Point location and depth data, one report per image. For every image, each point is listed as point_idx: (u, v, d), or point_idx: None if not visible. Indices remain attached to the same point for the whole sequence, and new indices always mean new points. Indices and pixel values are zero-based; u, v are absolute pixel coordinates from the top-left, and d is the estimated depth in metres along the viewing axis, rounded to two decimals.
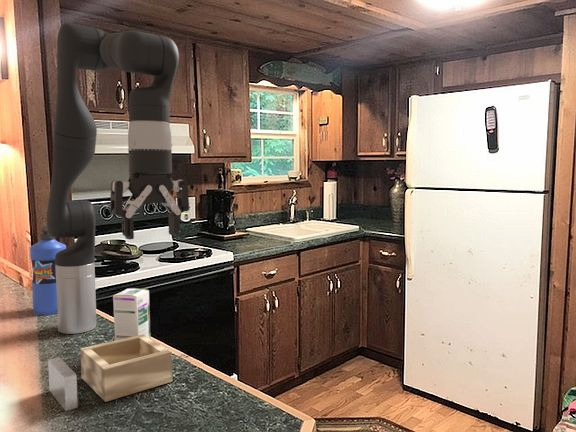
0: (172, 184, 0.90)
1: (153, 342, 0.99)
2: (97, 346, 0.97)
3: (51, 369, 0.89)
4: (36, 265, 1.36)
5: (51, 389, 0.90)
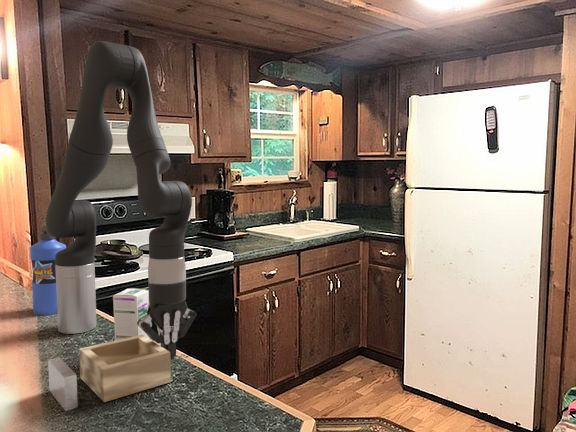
0: (185, 309, 1.02)
1: (152, 342, 0.99)
2: (96, 346, 0.97)
3: (51, 369, 0.89)
4: (36, 265, 1.36)
5: (51, 389, 0.90)
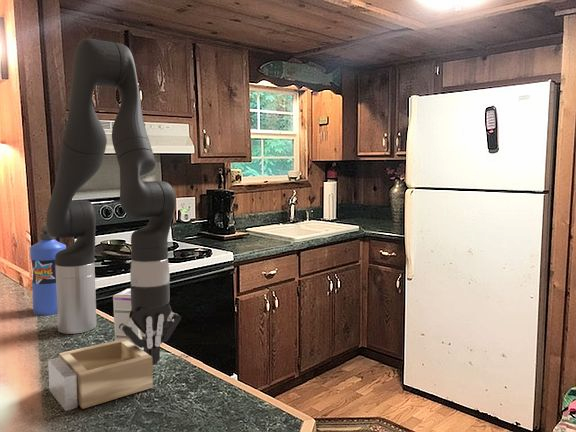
0: (169, 313, 0.99)
1: (134, 346, 0.97)
2: (76, 351, 0.94)
3: (51, 369, 0.89)
4: (36, 265, 1.36)
5: (51, 389, 0.90)
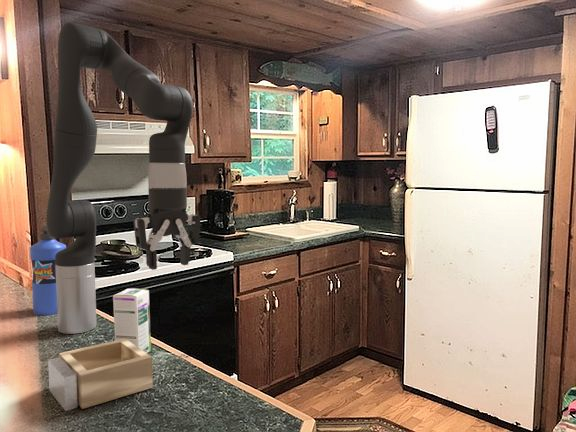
0: (187, 218, 1.00)
1: (134, 347, 0.97)
2: (76, 351, 0.94)
3: (51, 369, 0.89)
4: (36, 265, 1.36)
5: (51, 389, 0.90)
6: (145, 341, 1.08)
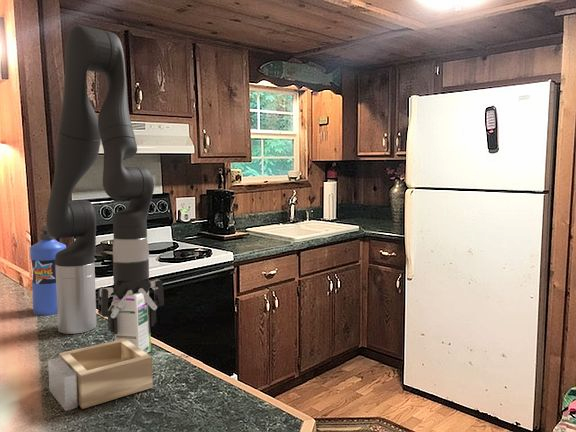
0: (149, 285, 1.09)
1: (134, 347, 0.97)
2: (76, 351, 0.94)
3: (51, 369, 0.89)
4: (36, 265, 1.36)
5: (51, 389, 0.90)
6: (145, 341, 1.08)
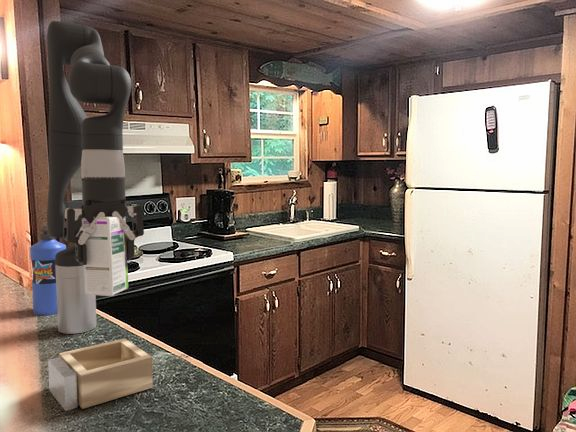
0: (126, 210, 0.92)
1: (134, 347, 0.97)
2: (76, 351, 0.94)
3: (51, 369, 0.89)
4: (36, 265, 1.36)
5: (51, 389, 0.90)
6: (121, 275, 0.91)
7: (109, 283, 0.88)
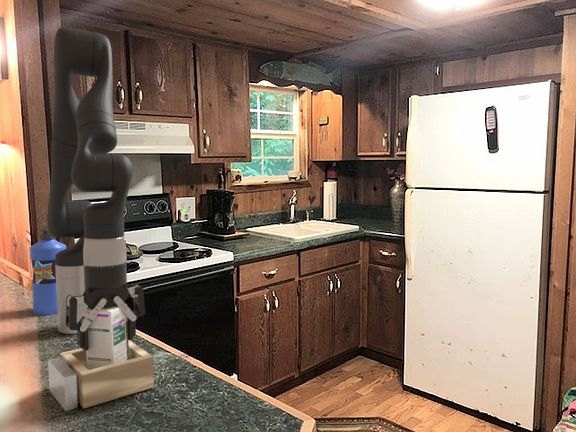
0: (127, 292, 0.93)
1: (135, 346, 0.97)
2: (78, 350, 0.94)
3: (51, 369, 0.89)
4: (36, 265, 1.36)
5: (51, 389, 0.90)
6: None
7: None
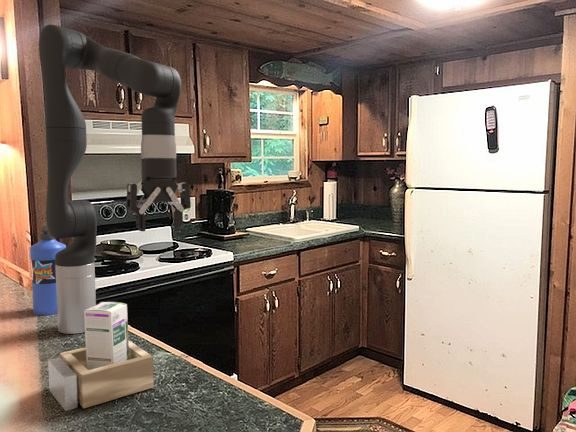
0: (176, 186, 1.09)
1: (135, 346, 0.97)
2: (77, 350, 0.94)
3: (51, 369, 0.89)
4: (36, 265, 1.36)
5: (51, 389, 0.90)
6: None
7: None
